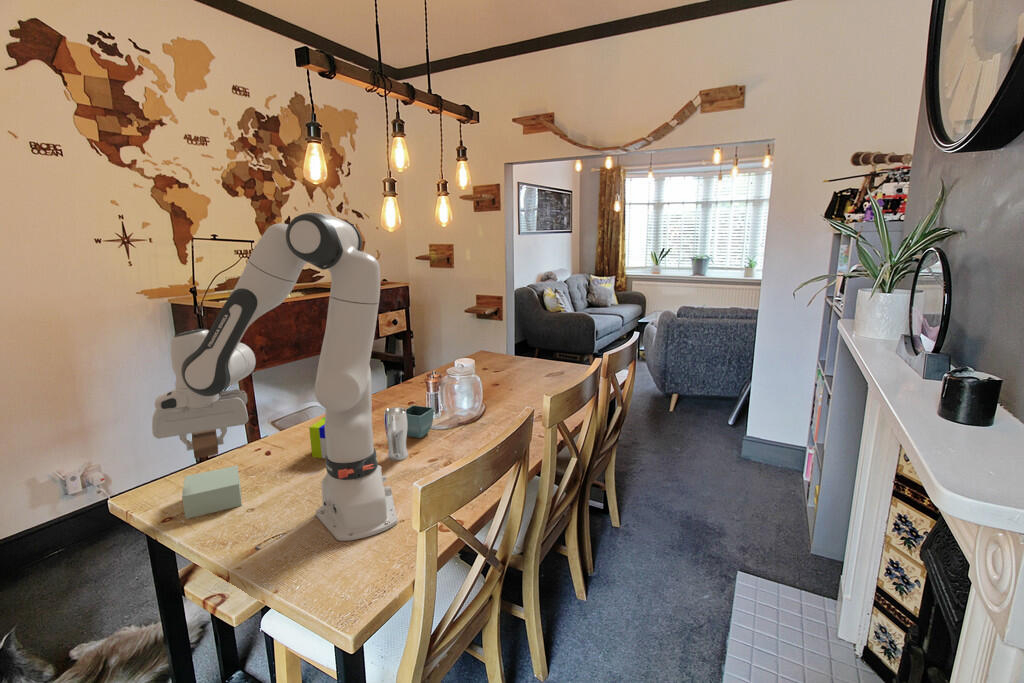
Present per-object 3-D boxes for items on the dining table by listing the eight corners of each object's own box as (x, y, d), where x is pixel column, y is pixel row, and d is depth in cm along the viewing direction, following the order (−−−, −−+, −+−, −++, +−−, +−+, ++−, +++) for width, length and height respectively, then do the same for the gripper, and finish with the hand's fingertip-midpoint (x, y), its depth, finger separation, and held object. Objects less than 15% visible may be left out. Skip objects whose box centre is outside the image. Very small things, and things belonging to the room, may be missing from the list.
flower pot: (399, 438, 165) (398, 413, 163) (414, 428, 173) (412, 404, 171) (421, 441, 162) (420, 416, 160) (435, 432, 170) (434, 407, 168)
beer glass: (384, 454, 153) (381, 408, 150) (407, 450, 156) (404, 405, 153) (388, 463, 147) (385, 416, 144) (411, 458, 149) (409, 412, 146)
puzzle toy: (341, 459, 149) (338, 429, 147) (312, 457, 151) (309, 427, 149) (357, 446, 159) (355, 417, 157) (330, 444, 161) (327, 415, 159)
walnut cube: (218, 453, 123) (215, 435, 122) (194, 458, 120) (191, 439, 119) (218, 446, 127) (215, 428, 126) (195, 450, 124) (192, 432, 123)
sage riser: (241, 505, 124) (238, 483, 123) (185, 519, 118) (181, 496, 117) (240, 485, 134) (237, 465, 133) (188, 497, 128) (185, 476, 127)
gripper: (245, 384, 128) (251, 434, 131) (150, 397, 118) (158, 450, 121) (246, 391, 123) (252, 442, 126) (146, 405, 113) (155, 460, 116)
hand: (205, 446), depth 123 cm, fingers closed on walnut cube, 5 cm apart
